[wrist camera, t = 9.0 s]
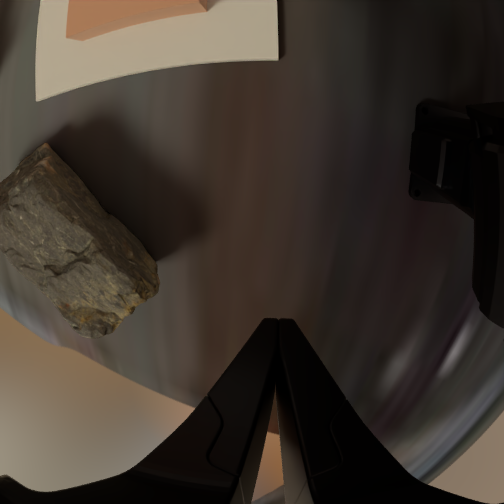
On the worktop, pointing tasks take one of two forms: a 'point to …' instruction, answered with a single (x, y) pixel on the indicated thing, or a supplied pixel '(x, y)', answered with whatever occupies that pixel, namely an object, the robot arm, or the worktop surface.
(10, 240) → the rock
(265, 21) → the beige mat
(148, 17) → the terracotta tile
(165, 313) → the worktop surface
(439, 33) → the worktop surface
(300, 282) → the worktop surface
